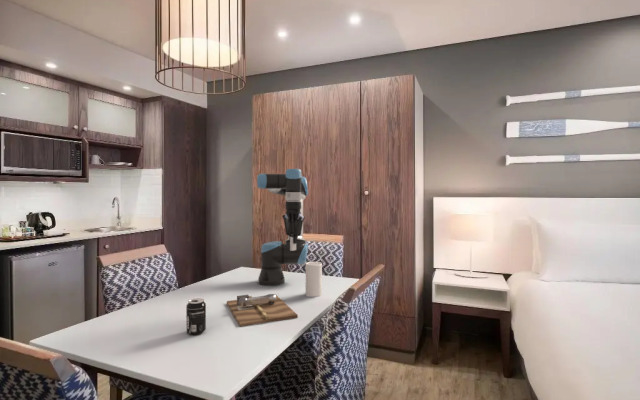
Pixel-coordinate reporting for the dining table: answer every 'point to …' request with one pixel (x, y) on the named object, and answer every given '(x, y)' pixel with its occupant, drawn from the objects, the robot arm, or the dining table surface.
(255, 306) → the door board
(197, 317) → the beverage can
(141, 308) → the dining table surface
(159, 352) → the dining table surface
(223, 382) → the dining table surface
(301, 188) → the robot arm
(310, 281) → the cup
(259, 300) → the bar
